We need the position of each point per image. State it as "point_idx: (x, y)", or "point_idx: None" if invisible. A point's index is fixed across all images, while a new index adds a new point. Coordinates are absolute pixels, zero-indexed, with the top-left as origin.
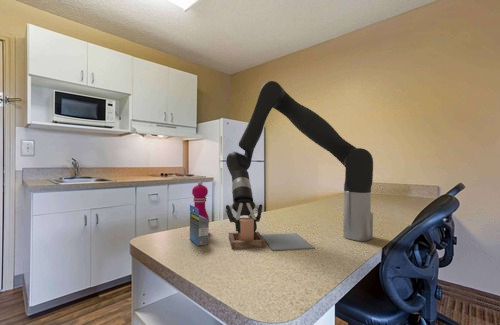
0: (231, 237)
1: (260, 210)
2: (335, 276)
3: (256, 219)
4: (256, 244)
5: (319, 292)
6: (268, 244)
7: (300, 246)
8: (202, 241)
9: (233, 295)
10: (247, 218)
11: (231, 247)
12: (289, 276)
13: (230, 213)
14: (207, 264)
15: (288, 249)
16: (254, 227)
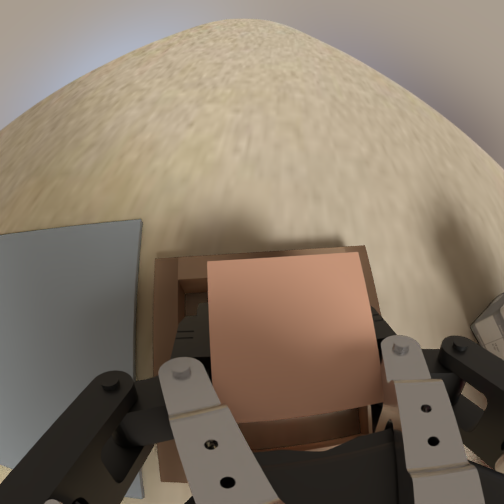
0: None
1: (47, 452)
2: (75, 86)
3: (156, 380)
4: None
5: (147, 47)
6: (135, 301)
7: (14, 250)
8: (497, 301)
9: (306, 45)
10: (275, 372)
11: None
12: (172, 75)
13: (499, 371)
14: (403, 139)
15: (70, 227)
16: (204, 309)
